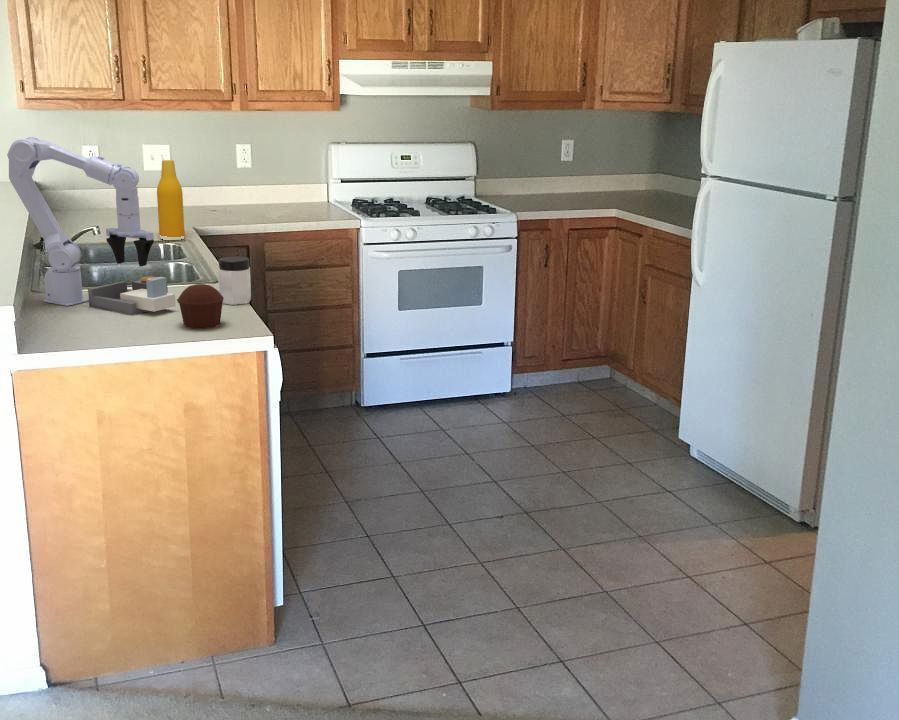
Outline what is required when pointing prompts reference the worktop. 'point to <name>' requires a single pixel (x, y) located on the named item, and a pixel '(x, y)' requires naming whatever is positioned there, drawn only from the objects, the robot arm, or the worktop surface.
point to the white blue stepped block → (151, 296)
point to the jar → (234, 280)
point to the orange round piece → (146, 278)
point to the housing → (115, 297)
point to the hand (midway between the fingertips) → (131, 264)
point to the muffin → (201, 306)
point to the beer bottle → (170, 202)
